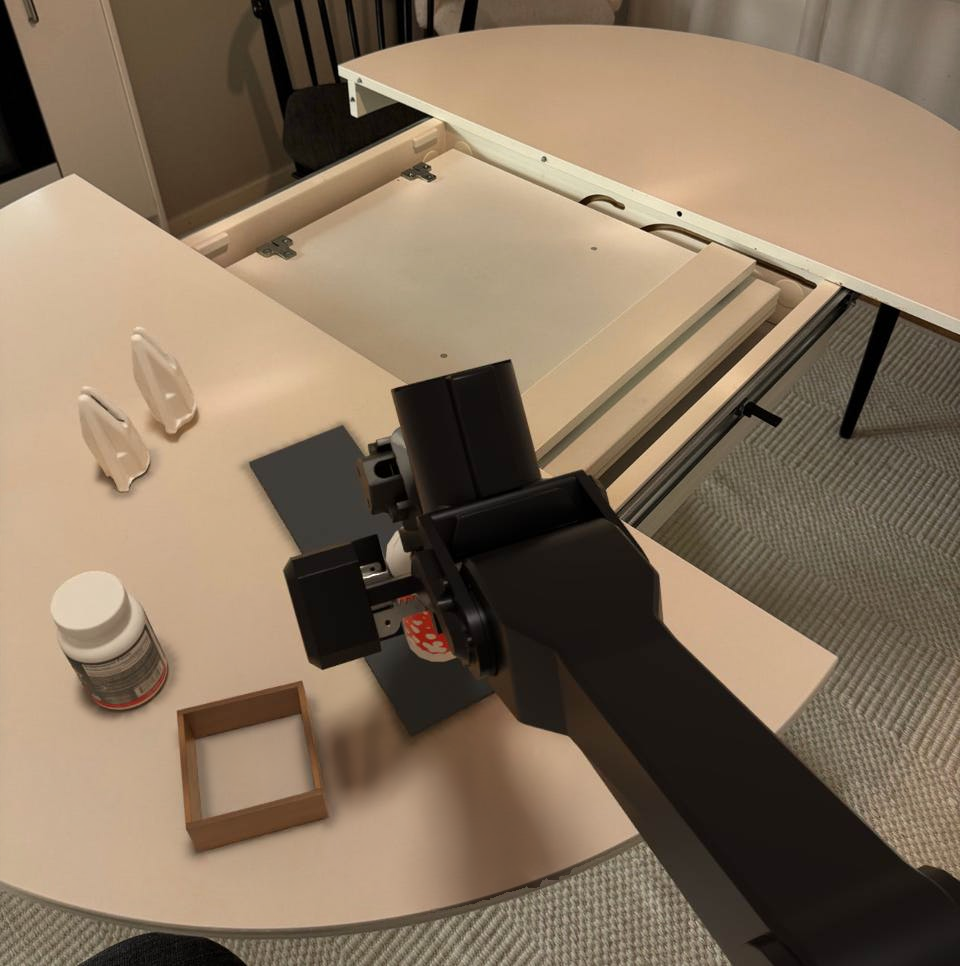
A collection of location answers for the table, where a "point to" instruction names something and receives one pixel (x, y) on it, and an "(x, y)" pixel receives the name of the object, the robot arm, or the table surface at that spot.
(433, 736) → the table surface
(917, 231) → the table surface
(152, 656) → the pill bottle
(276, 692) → the square wooden frame
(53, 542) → the table surface
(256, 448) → the table surface
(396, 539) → the beverage cup
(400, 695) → the mat
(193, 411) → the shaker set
